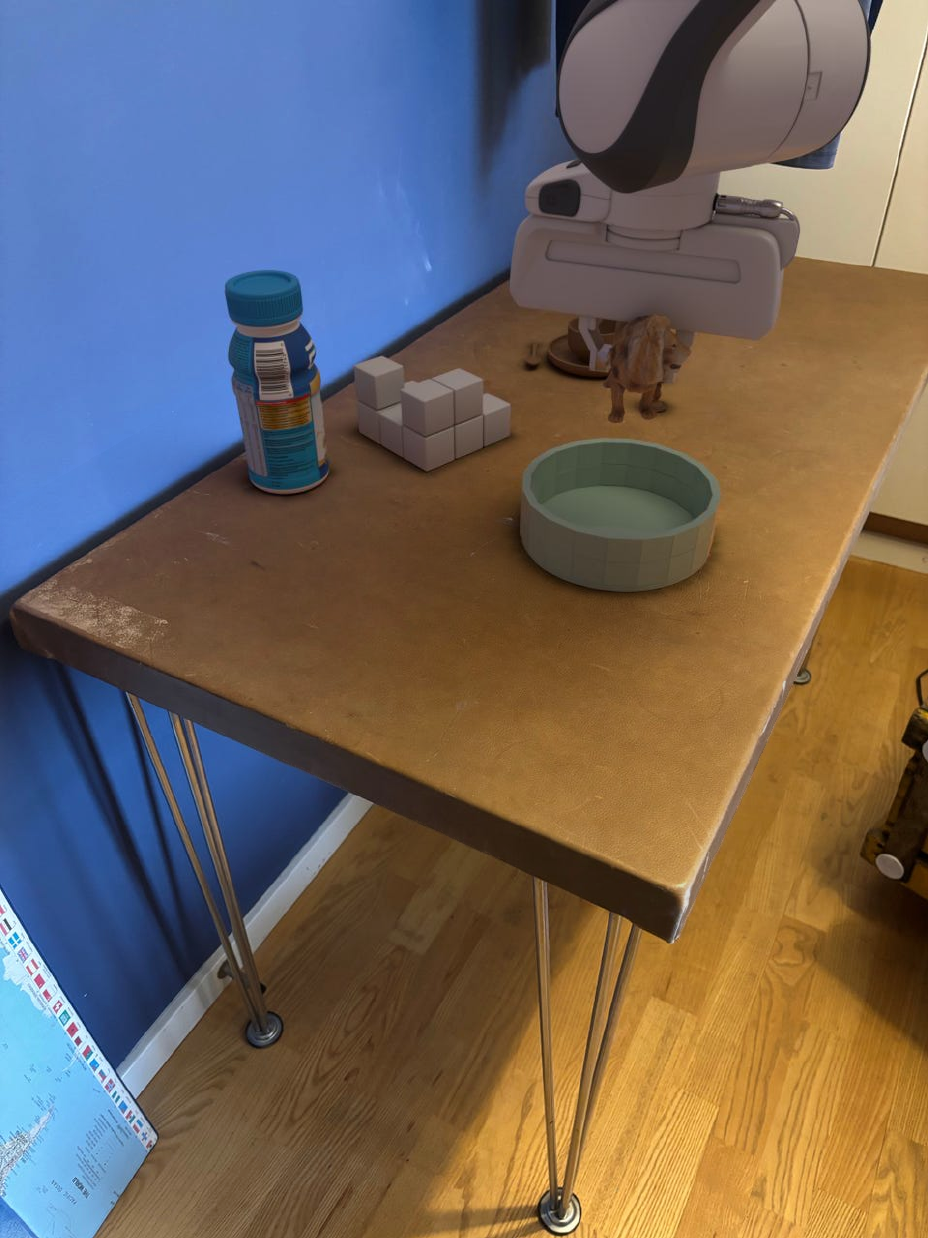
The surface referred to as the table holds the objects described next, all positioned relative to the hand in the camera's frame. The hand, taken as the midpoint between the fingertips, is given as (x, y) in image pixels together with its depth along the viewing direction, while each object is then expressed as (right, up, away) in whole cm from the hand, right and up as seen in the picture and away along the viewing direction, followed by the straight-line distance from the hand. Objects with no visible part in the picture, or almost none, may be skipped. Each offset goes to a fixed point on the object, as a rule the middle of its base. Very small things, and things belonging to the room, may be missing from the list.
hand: (632, 374), depth 73 cm
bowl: (+1, -12, +12) cm, 17 cm away
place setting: (+3, +11, +40) cm, 42 cm away
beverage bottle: (-32, -5, +22) cm, 38 cm away
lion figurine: (+1, -2, +1) cm, 3 cm away
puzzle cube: (-17, +1, +28) cm, 33 cm away
